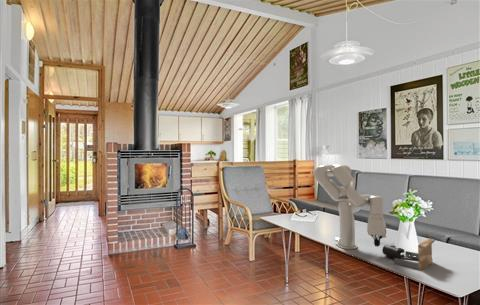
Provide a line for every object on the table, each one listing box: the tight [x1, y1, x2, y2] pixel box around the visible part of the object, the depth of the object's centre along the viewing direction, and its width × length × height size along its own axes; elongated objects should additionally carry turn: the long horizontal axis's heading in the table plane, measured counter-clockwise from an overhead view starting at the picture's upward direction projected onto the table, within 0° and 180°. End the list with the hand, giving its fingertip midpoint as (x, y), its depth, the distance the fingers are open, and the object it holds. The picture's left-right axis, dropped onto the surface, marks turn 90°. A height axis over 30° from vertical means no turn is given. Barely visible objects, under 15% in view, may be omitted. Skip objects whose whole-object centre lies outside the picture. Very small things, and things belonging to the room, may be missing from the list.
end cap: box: [381, 244, 405, 260], centre depth 179 cm, size 10×7×7 cm
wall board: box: [417, 238, 436, 271], centre depth 166 cm, size 3×18×13 cm, turn 133°
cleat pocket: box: [394, 250, 419, 270], centre depth 172 cm, size 12×18×3 cm, turn 133°
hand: (377, 245), depth 186 cm, fingers closed
